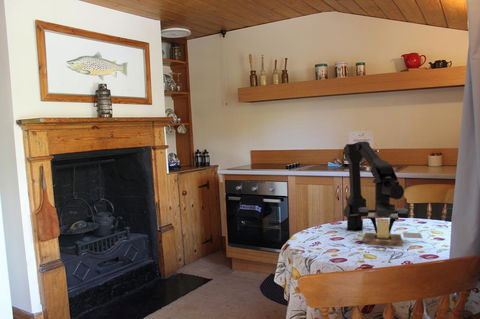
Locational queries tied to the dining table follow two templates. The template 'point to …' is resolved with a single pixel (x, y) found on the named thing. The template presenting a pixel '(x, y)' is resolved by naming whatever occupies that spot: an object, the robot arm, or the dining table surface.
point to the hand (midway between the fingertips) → (382, 233)
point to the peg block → (383, 229)
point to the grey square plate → (412, 235)
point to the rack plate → (372, 240)
